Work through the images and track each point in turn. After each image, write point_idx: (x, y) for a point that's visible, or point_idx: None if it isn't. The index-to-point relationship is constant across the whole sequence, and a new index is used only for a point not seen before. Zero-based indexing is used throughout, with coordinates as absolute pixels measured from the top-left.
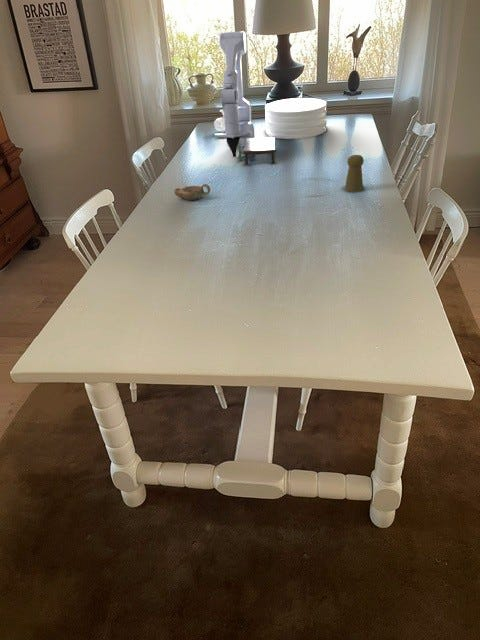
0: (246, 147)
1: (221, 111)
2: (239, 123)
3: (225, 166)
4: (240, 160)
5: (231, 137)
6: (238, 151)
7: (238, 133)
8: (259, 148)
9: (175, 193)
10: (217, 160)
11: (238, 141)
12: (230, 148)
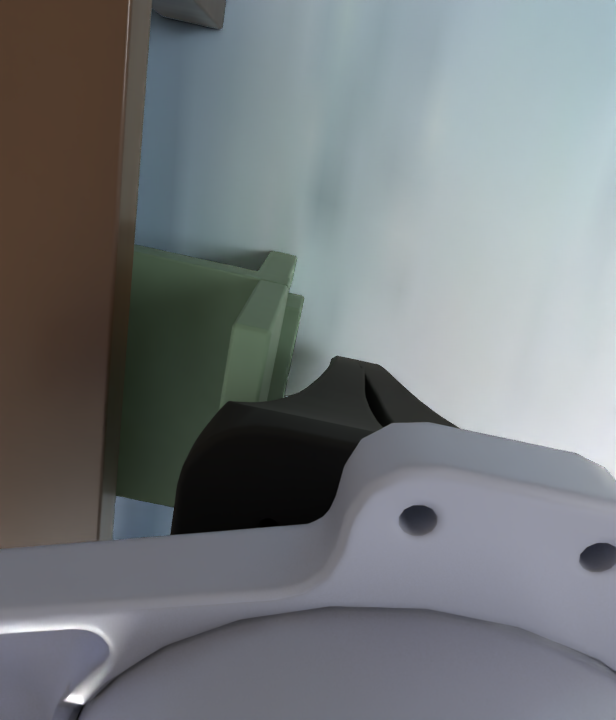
0: (58, 220)
1: None
2: None
3: (576, 68)
4: (276, 252)
5: (538, 445)
6: (283, 295)
7: (110, 700)
8: None
9: None
10: (590, 434)
11: (224, 409)
12: (443, 419)
